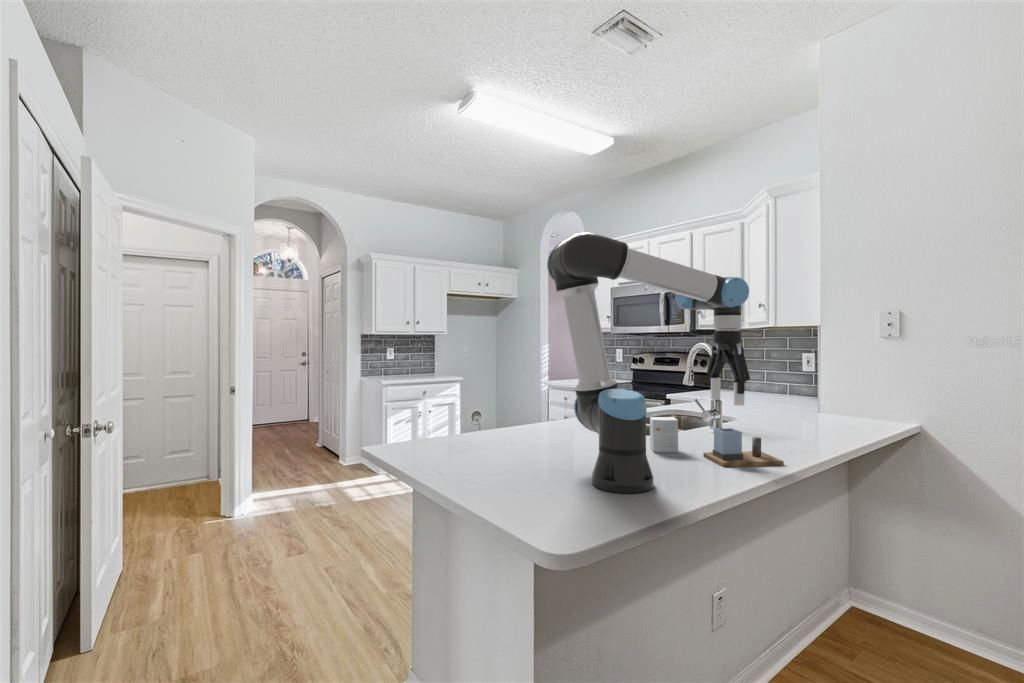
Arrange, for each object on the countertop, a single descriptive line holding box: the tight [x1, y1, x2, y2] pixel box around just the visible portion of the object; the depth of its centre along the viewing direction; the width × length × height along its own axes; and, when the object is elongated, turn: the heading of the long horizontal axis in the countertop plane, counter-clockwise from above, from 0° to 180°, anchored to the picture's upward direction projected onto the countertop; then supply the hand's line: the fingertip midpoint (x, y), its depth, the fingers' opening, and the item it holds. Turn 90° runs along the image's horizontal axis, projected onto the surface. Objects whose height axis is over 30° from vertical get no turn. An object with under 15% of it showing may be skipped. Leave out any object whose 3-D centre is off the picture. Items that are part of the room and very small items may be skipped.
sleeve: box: [712, 427, 743, 460], centre depth 146 cm, size 6×6×8 cm
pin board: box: [702, 436, 785, 468], centre depth 146 cm, size 18×12×7 cm, turn 94°
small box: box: [649, 416, 679, 453], centre depth 160 cm, size 8×6×10 cm
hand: (726, 402), depth 146 cm, fingers open, 13 cm apart
